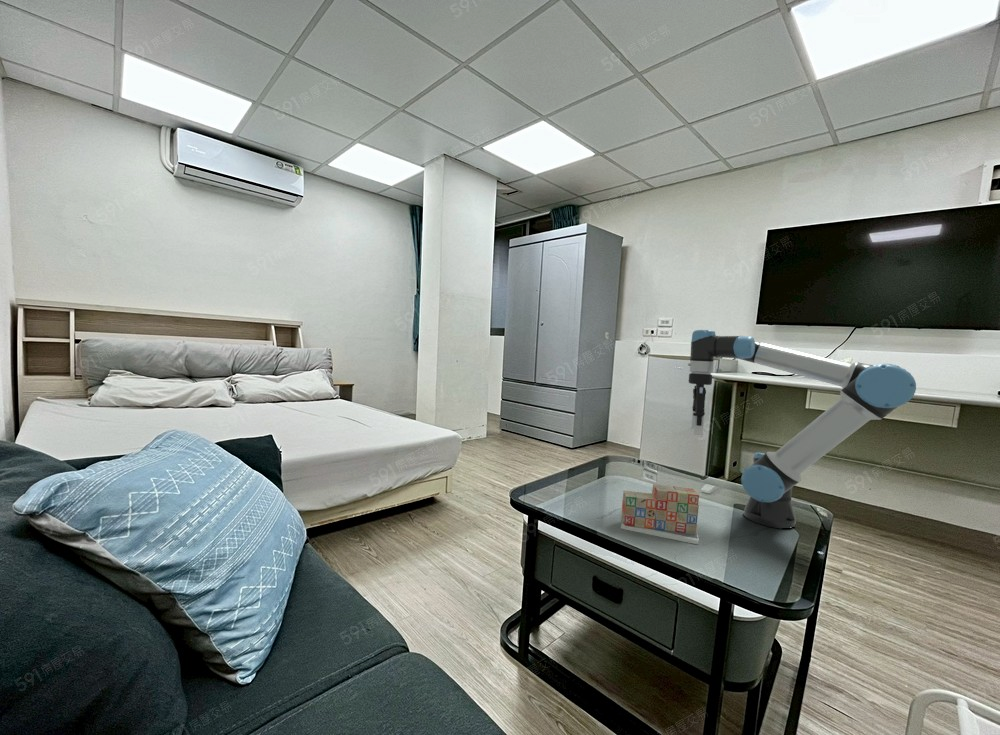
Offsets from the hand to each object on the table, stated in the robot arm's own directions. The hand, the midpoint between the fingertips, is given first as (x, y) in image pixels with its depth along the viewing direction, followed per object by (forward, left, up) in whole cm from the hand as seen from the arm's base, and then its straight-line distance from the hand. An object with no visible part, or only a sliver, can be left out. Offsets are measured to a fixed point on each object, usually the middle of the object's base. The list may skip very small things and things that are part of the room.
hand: (696, 432), depth 145 cm
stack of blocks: (+11, +25, -28) cm, 39 cm away
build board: (+11, +25, -29) cm, 39 cm away
